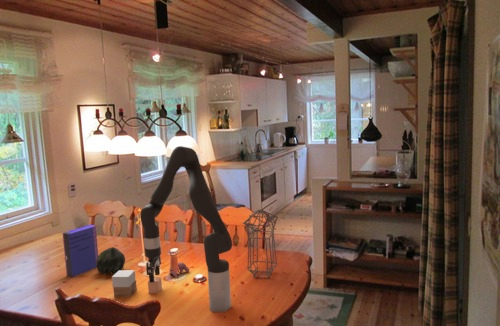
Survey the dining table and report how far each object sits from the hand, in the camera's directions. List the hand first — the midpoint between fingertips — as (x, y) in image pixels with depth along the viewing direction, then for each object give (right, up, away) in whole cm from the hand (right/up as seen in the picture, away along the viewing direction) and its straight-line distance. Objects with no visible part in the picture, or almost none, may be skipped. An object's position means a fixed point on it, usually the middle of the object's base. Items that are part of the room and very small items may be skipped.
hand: (154, 278), depth 197 cm
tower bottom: (-14, -7, -1) cm, 16 cm away
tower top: (-14, -2, -1) cm, 15 cm away
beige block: (0, -6, 0) cm, 6 cm away
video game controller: (+9, -4, +20) cm, 22 cm away
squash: (-30, -4, +27) cm, 41 cm away
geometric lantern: (+52, -3, +13) cm, 54 cm away
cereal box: (-47, -5, +31) cm, 56 cm away
